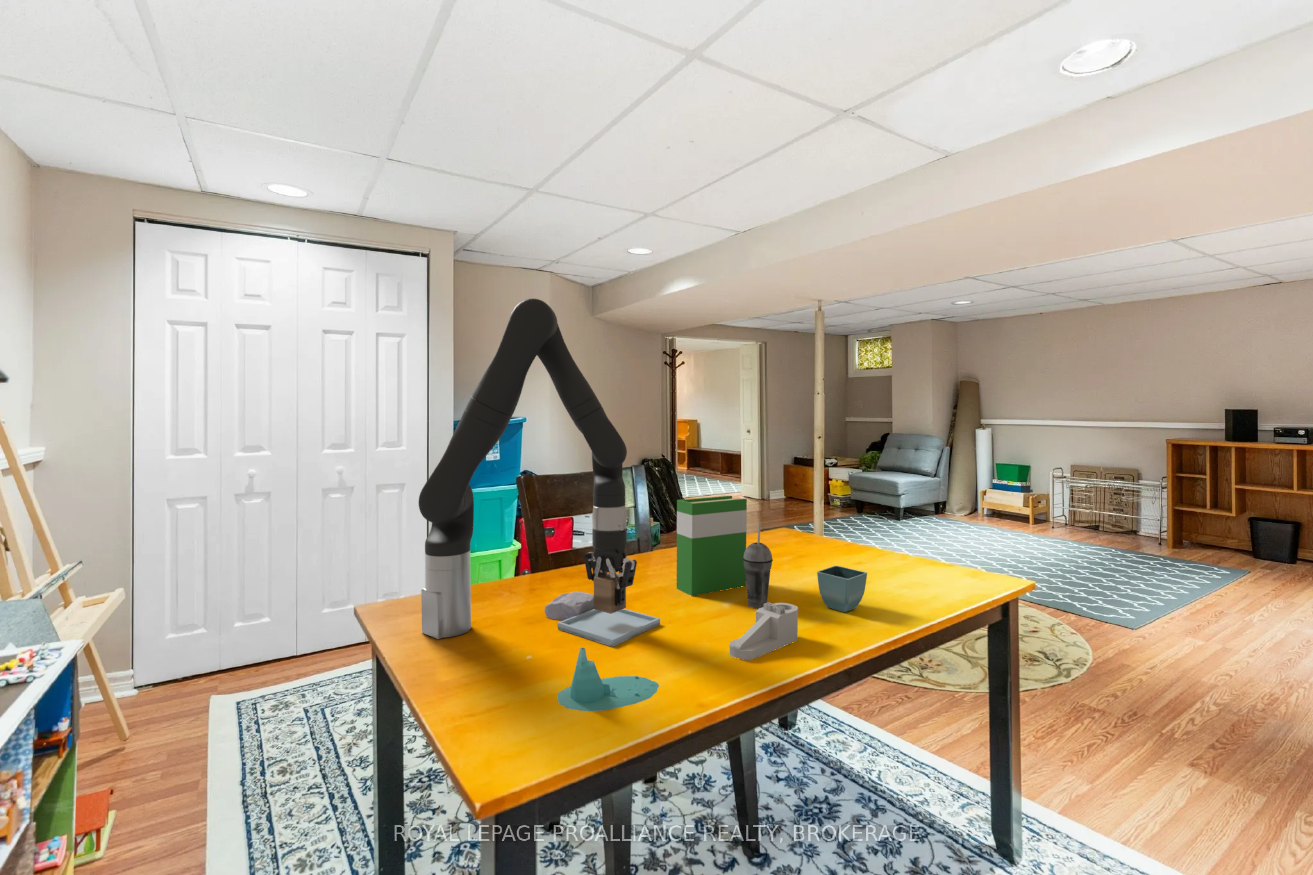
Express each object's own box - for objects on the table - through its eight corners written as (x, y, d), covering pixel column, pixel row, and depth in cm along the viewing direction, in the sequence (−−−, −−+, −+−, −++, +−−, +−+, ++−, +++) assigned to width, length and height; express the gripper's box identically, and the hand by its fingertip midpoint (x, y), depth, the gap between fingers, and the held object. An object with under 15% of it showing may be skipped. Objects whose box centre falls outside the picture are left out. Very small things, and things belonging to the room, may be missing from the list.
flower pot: (848, 617, 138) (848, 579, 137) (815, 607, 144) (815, 571, 144) (867, 609, 144) (868, 572, 143) (835, 600, 150) (835, 565, 150)
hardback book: (729, 579, 168) (730, 495, 167) (745, 586, 162) (746, 498, 161) (676, 588, 159) (677, 500, 158) (691, 596, 153) (692, 503, 152)
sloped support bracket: (724, 653, 117) (724, 614, 117) (781, 632, 129) (781, 595, 128) (746, 663, 113) (746, 621, 112) (802, 640, 124) (803, 602, 124)
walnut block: (610, 613, 127) (610, 581, 127) (593, 609, 130) (593, 577, 130) (626, 607, 131) (625, 576, 131) (609, 603, 134) (609, 572, 134)
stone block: (542, 626, 136) (581, 622, 134) (538, 605, 137) (578, 600, 134) (564, 611, 148) (600, 607, 145) (560, 592, 148) (597, 587, 145)
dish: (612, 646, 120) (612, 640, 120) (557, 629, 129) (557, 622, 129) (660, 624, 132) (660, 618, 132) (606, 609, 142) (606, 604, 142)
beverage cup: (739, 608, 144) (739, 526, 143) (746, 599, 150) (747, 521, 149) (769, 612, 141) (770, 528, 140) (774, 603, 148) (775, 523, 147)
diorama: (678, 699, 99) (679, 649, 98) (560, 723, 91) (559, 668, 91) (652, 670, 110) (652, 624, 109) (544, 688, 102) (544, 639, 102)
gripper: (574, 524, 131) (574, 600, 132) (623, 532, 122) (623, 613, 123) (597, 519, 137) (597, 592, 138) (645, 527, 128) (645, 604, 129)
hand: (609, 602), depth 131 cm, fingers closed on walnut block, 5 cm apart
